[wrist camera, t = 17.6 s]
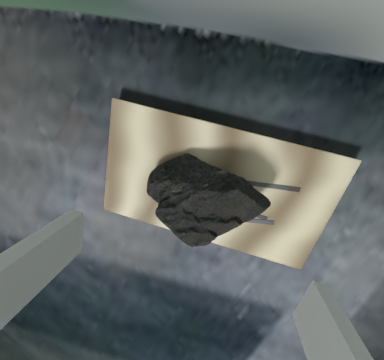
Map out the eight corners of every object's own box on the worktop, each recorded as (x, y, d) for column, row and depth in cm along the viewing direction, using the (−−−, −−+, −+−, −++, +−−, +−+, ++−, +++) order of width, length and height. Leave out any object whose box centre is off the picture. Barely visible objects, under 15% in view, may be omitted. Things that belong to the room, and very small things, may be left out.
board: (110, 204, 27) (103, 209, 26) (119, 99, 22) (111, 97, 21) (296, 260, 25) (300, 270, 23) (352, 157, 20) (362, 160, 19)
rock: (146, 177, 24) (188, 247, 23) (124, 176, 18) (178, 269, 18) (218, 130, 23) (265, 202, 22) (218, 114, 17) (281, 210, 16)
